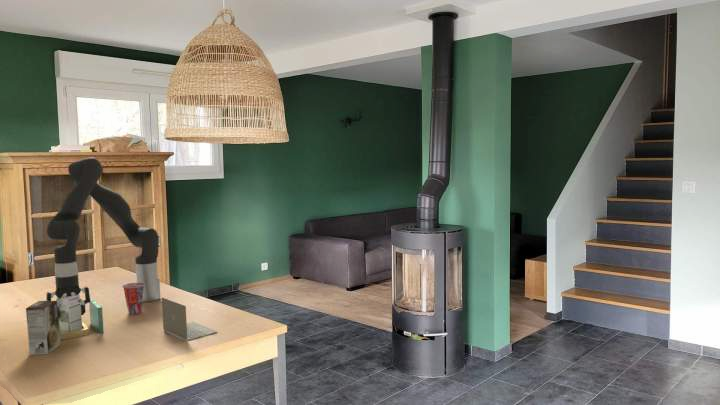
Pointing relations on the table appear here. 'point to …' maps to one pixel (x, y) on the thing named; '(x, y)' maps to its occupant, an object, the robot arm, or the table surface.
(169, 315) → the laptop
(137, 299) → the cup
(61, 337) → the tan and teal pieces
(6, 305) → the table surface
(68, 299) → the syrup box
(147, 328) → the table surface
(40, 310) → the coffee box
